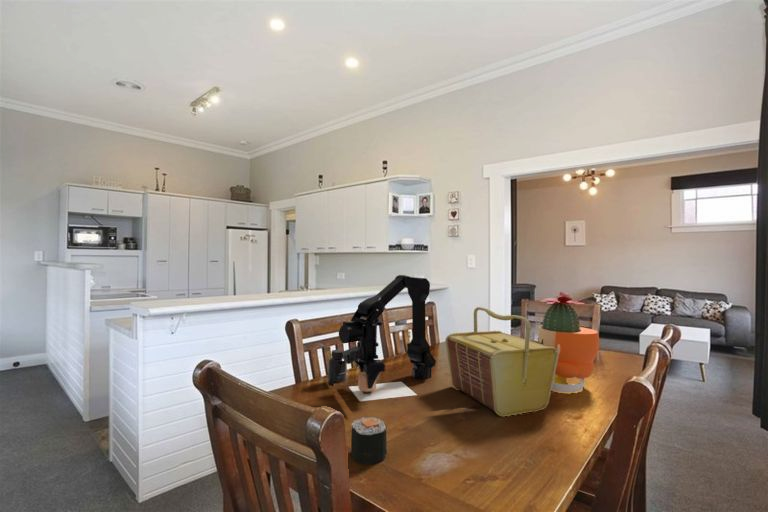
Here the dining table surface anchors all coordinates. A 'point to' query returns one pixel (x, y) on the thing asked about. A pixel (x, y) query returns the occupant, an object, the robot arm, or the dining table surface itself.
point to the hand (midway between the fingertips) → (367, 385)
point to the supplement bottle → (336, 367)
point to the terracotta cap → (364, 382)
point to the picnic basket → (502, 368)
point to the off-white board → (384, 391)
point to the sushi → (368, 440)
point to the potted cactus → (568, 342)
